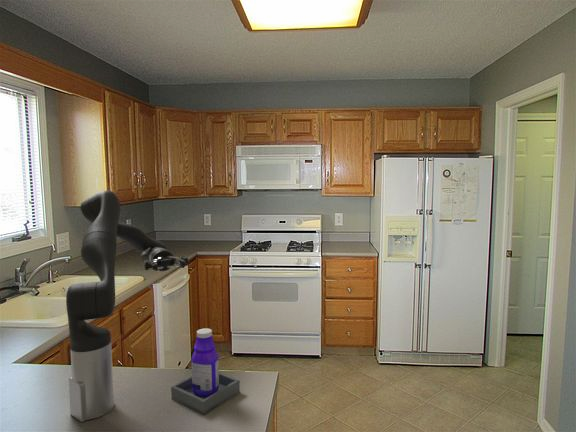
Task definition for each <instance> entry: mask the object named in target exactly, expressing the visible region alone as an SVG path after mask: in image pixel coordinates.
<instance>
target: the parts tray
mask: <svg viewBox="0 0 576 432" xmlns="http://www.w3.org/2000/svg"><path fill="white" fill-rule="evenodd" d="M240 387H241V385H240V379H237V378H235V377H234V376H233V377H232V376H230V375H227V374H225V373H222V372H221V371H219V388H218V390H217V392H215V393H214V394H212V395H210V396H209V397H204V396H198V395H195V394H194V393H193V390H192V375H191V376H189V377H186V378H185V379H183V380H181V381H180V382H177V383H175V384H174V385H171V386H170V389H171V390H170V392H171V400H172V401H175V402H176V403H179V404H180V405H183V406H184V407H187V409H191V410H192V411H194V412H196V413H199V414H200V415H203V416H205V415H207V414H208V413H210V412H211V411H213V410H214V409H216V408H217V407H219V406H221V405H222V404H224V403H226V402H227V401H229V400H231V399H232V398H233V397H235V396H236V395H238V394H240V393H241V392H240V391H241V388H240Z"/></svg>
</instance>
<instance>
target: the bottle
mask: <svg viewBox="0 0 576 432" xmlns="http://www.w3.org/2000/svg"><path fill="white" fill-rule="evenodd" d="M215 348H216V344H215V342H214V340H213V330H212V329H211V328H208V327H207V328H201V329H198V330H196V341H195V344H194V346H193V349H194V352H193V353H192V356H191V376H192V390H193V393H194V394H195V395H198V396H204V397H209V396H210V395H212V394H214V393H215V392H217V390H218V388H219V372H220V370H219V369H220V364H219V362H220V361H219V359H220V358H219V355H218V351H217V350H216V349H215Z"/></svg>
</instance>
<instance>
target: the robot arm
mask: <svg viewBox="0 0 576 432" xmlns="http://www.w3.org/2000/svg"><path fill="white" fill-rule="evenodd" d="M80 211H81V214H82V216H84V218H85V219H86V220H87V221H89V223H91V224H90V226H88V229H87V230H86V232H85V233H84V235H83V238H82V242H81V247H80V248H81V249H80V255H81V258H82V261H83V262H84V263H85V265H86V266H87V267H88V268H90V270H92V272H93V273H95V274H96V275H97V277H98V278H99V280H100V281H94V282H82V283H75V284H71V285H70V286H69V287H68V288H67V290H66V295H65V298H66V299H65V302H66V303H65V304H66V315H67V321H68V322H67V323H68V332H69V333H68V334H69V347H70V364H71V366H70V367H71V376H70V377H69V378H68V392H69V393H68V394H69V410H70V412H69V413H70V415H71V416H73V417H74V418H75V419H77V420H78V421H80V423H81V422H82V423H83V422H85V421H88V420H92V419H97V418H100V417H102V416H105V415H106V414H108V413H109V412H111V411H112V410H113V409H114V406H115V399H114V398H115V395H114V376H113V375H114V372H113V358H112V357H113V356H112V355H113V354H112V353H113V352H112V335H111V330H109V329H108V328H106V327H105V328H104V327H101V326H96V325H93V324H90V323H88V322H87V321H89V320H96V319H103V318H107V317H111V316H112V314H113V313H114V311H115V308H116V307H115V305H116V281H115V280H116V279H115V278H116V275H115V271H116V270H115V269H116V268H115V267H116V257H117V255H116V254H117V238H118V239H121V240H122V241H124V242H125V243H126V244H127V245H129V247H131V248H132V249H134V251H136V252H138V253H139V252H140V253H141V252H142V253H141V254H140V260H141V262H142V263H143V268H144V270H146V271H148V270H152V271H153V270H154V271H155V272H156V271H157V272H158V271H159V272H166V271H169V270H170V269H172V268H179V267H180V268H181V269H185V267H187V266H189V258H188V257H186V256H184V255H182V256H180V257H179V256H178V257H177V256H174V255H173V253H172V252H171V251H169V250H168V248H167V245H166V244H165V243H163V242H162V241H160V240H157V239H155V238H152V237H150V236H149V235H147V234H146V232H144V231H143V230H142V229H140V227H137V225H133V224H129V223H124V222H120V221H119V220H120V216H121V211H122V209H121V202H120V199H119V197H118V196H117V194H116V193H114V192H113V191H111V190H108V189H107V190H101V191H99V192H97V193H95V194H93V195H92V196H90V197H88V198H86V199H84V200H83V201H82V202H81V204H80Z"/></svg>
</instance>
